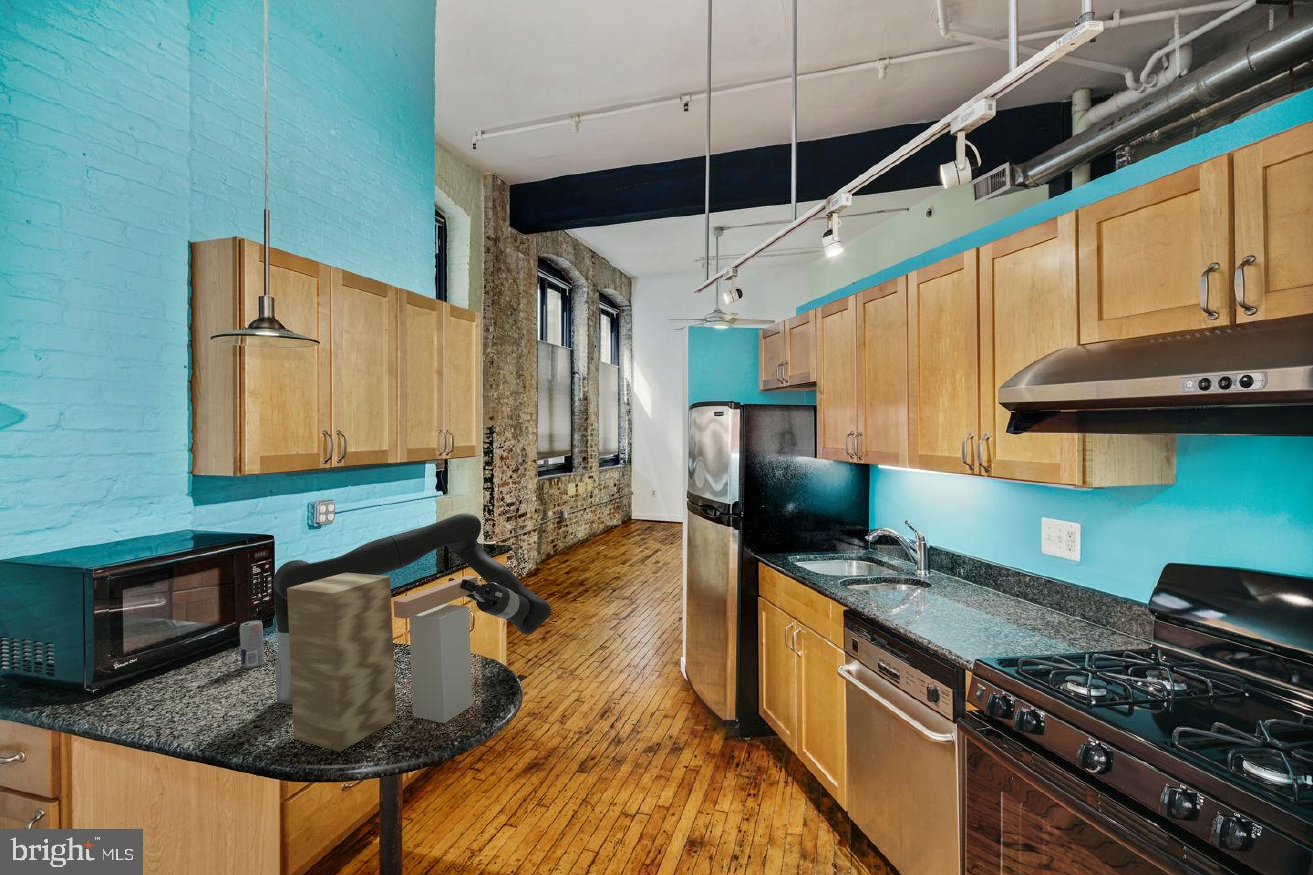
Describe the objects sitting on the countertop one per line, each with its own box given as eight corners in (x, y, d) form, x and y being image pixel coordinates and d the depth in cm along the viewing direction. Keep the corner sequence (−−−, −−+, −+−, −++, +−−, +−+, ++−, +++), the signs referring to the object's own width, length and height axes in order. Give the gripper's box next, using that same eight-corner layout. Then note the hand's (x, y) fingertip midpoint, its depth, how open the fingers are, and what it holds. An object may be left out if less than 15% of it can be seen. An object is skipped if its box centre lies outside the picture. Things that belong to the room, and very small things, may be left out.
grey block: (443, 699, 141) (438, 603, 141) (472, 705, 138) (468, 606, 137) (413, 716, 133) (409, 614, 133) (444, 723, 130) (439, 618, 129)
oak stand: (352, 709, 138) (346, 572, 137) (396, 719, 132) (390, 576, 132) (294, 739, 125) (286, 588, 125) (340, 751, 119) (332, 593, 119)
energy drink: (248, 662, 171) (246, 620, 171) (268, 660, 171) (266, 619, 171) (237, 669, 165) (235, 626, 165) (257, 668, 166) (255, 625, 166)
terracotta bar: (466, 589, 146) (466, 575, 146) (477, 590, 145) (477, 576, 145) (394, 617, 126) (393, 600, 126) (406, 618, 125) (405, 602, 124)
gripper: (481, 584, 159) (438, 565, 145) (524, 588, 153) (484, 568, 139) (472, 613, 155) (427, 596, 141) (516, 618, 149) (474, 601, 136)
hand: (455, 582), depth 140 cm, fingers closed on terracotta bar, 3 cm apart
